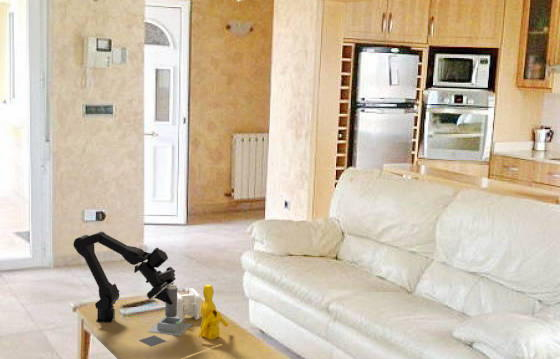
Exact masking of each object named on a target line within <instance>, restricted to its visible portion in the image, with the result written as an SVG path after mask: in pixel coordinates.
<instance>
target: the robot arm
mask: <svg viewBox="0 0 560 359" xmlns="http://www.w3.org/2000/svg"><path fill="white" fill-rule="evenodd" d="M96 243H98V244H100V245H102V246H104V247H106V248H108V249H110V250H112V251H113V252H114V253H115V252H116V253H117V254H118V255H121V257H122V258H123V259H124V260H125V261H126V262H127V263H129V264H130V265H132V266H134V271H133V273H134V274H136V273H137V272H140V274H141V275H142V277H144V278H145V283H146V284H149V285H150V286H151V287H152V288H151V290H149V291H148V292H146V297H147V298H148V299H149V300H151V299H155V300H156V299H157V300H159V301H161V302H164V303H165V304H166V303H168V304H170V305H172V304H173V303H172V301H171V299H170V298H169V296H168V295H167V293H166V288H167V285H174V284H175V282H174V281H176V279H177V278H176V273H175V272H176V270H175V269H174V268H173V267H171V266H169V267H167V268H166V269H165V271H163V272H162V271H161V270H157V269H158V268H159V267H161V266H162V265H163V264H164V263H165V262H166V261H168V259H169V256H168V254H167V252H165V251H163V250H162V249H159V247H155V248H154V249H153V251H152V252H147V251H144V249H143V248H139V247H137V246H131V245H127V244H125V243H123V242H121V241H119V240H118V239H116V238H114V237H112V236H111V235H108V234H107V233H106V232H104V231H98V232H97V233H93V234H90V235H89V234H83V235H81V236H79V237H77V238H75V239H74V241H73V244H72V245H73V247H74V249H75V250H76V252H77V254H79V255H80V256H81V257H82V258H84V261H85V263H86V264H87V268H89V271H90V273H91V275H92V278H93V279H94V281H95V282H96V284H97V287H98V296H99V300H98V301H97V302H95V304H94V305H95V308H96V310H97V315H96V316H97V318H96V320H95V321H96V322H98V323H111V322H113V321H114V319H115V318H116V309H115V308H114V307H115V306H114V305H115V304H116V301H118V300H119V298H120V292H121V291H120V290H119V289H118V287H117V284H116V283H114V284H112V283H111V282H110V281H109V280H108V276H107V275H106V273H105V271H104V269H103V267H102V264H101V263H100V261H99V259H98V257H97V255H96V253H95V252H96V251H95V244H96ZM139 263H140V264H139ZM156 268H157V269H156Z"/></svg>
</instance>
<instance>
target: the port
mask: <svg viewBox="0 0 560 359" xmlns="http://www.w3.org/2000/svg"><path fill="white" fill-rule="evenodd" d="M192 327H193V324H192V323H188V322H185V318H184V317H183V318H176V317H166V316H163V317H162V318H161V319H160V320H159V321H158V322H157V323H156V324H155V325H154V326H153V327H151V329H148V332H149V333H150V332H151V333H155V334H163V335H169V336H176V337H181V336H182V335H183V334H184V333H185V332H186V331H187V330H188V329H190V328H192Z"/></svg>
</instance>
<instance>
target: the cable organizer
mask: <svg viewBox="0 0 560 359" xmlns="http://www.w3.org/2000/svg"><path fill="white" fill-rule="evenodd" d="M200 314H201V297H200V294H199V293H198V292H197V291H196V289H194V288H193V287H190V288H189V289H188V294H187V293H186V294H180V293H179V292H178V291H177V316H175V317H176V318H183V319H186V316H187V315H188V316H189V315H190V317H193V318H194V319H195V321H197V320H199V319H200V317H201V316H200Z"/></svg>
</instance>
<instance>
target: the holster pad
mask: <svg viewBox="0 0 560 359" xmlns="http://www.w3.org/2000/svg"><path fill="white" fill-rule="evenodd" d="M138 341H139V342H140V343H143V344H145V345H147V346H149V347H155V346H156V345H160V344H162V343H163V344H164V343H166V342H167V340H165V339H164V338H161V337H159V336H157V335H152V336H148V337H144V338H143V339H139V340H138Z"/></svg>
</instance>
